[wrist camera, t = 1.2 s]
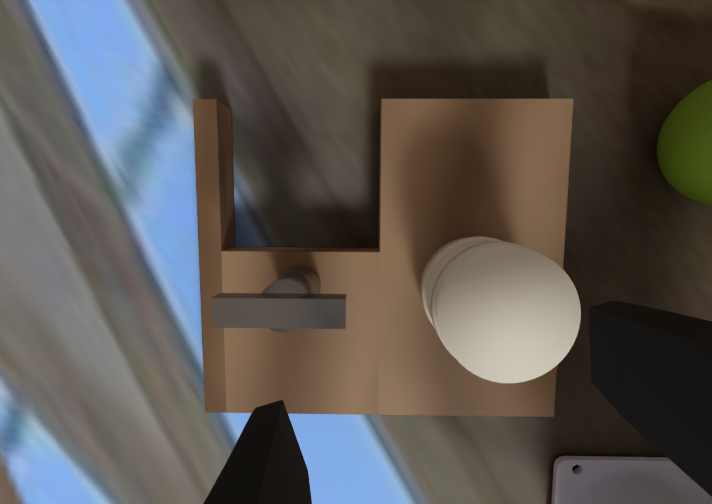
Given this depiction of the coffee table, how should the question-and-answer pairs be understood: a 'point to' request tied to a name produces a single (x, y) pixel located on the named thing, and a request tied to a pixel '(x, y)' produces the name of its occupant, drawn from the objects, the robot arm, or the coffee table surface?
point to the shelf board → (387, 262)
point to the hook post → (282, 305)
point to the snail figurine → (689, 146)
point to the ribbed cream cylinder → (500, 308)
